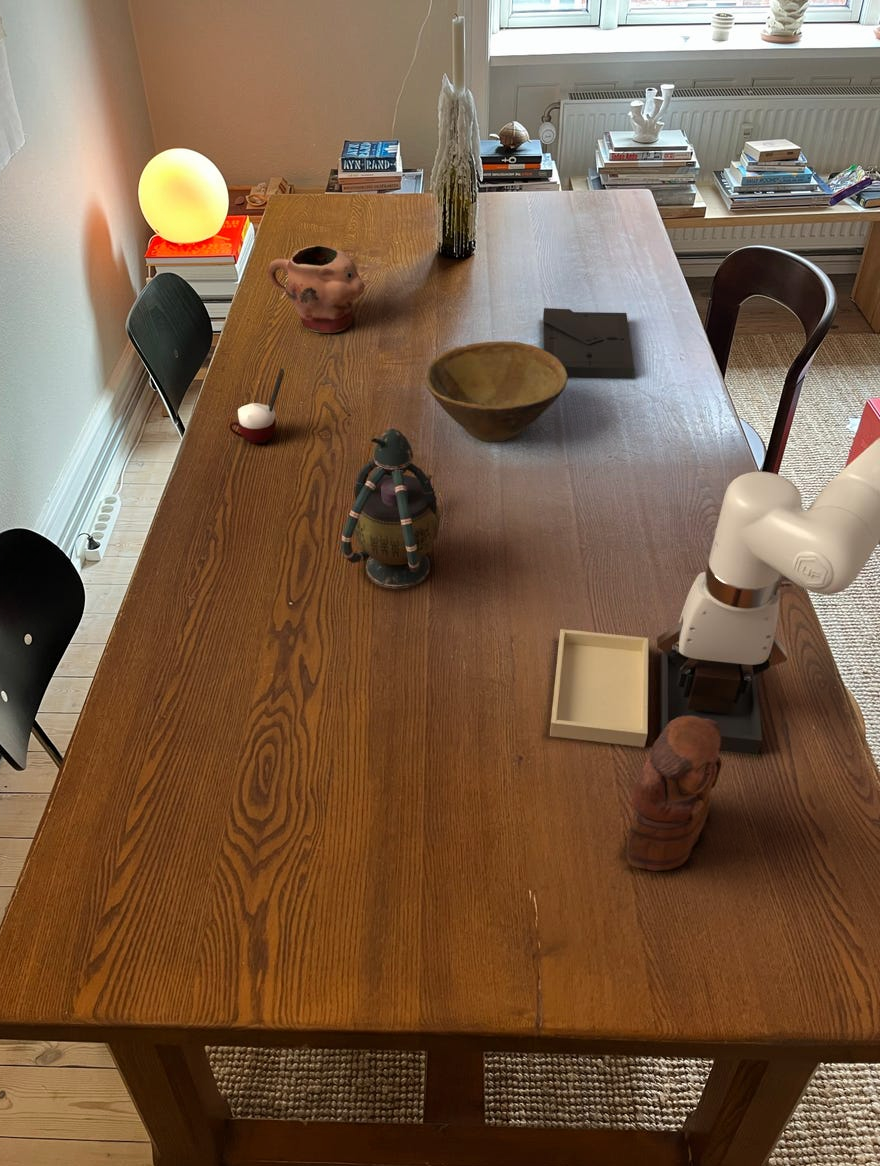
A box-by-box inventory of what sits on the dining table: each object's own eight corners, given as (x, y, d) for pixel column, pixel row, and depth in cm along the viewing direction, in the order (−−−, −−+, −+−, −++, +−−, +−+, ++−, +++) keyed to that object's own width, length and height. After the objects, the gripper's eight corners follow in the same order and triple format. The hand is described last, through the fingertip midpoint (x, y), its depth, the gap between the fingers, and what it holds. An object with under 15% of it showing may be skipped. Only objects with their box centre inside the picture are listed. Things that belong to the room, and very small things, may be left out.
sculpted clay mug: (260, 332, 195) (250, 262, 185) (283, 303, 203) (275, 235, 194) (358, 343, 191) (353, 272, 181) (377, 314, 199) (373, 244, 189)
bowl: (456, 381, 180) (456, 329, 173) (579, 407, 172) (584, 354, 165) (404, 444, 166) (403, 391, 159) (535, 475, 158) (540, 421, 151)
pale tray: (645, 651, 130) (648, 637, 128) (644, 747, 119) (647, 733, 117) (558, 642, 132) (560, 628, 130) (549, 736, 120) (551, 722, 119)
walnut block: (728, 684, 124) (738, 649, 120) (730, 714, 120) (740, 680, 116) (686, 679, 124) (695, 645, 120) (687, 709, 121) (696, 675, 117)
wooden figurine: (669, 890, 105) (699, 785, 92) (614, 860, 108) (636, 755, 95) (715, 814, 112) (749, 706, 99) (662, 788, 114) (689, 680, 102)
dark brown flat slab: (542, 321, 194) (543, 376, 180) (543, 307, 192) (544, 362, 178) (625, 322, 193) (632, 378, 178) (626, 309, 191) (634, 364, 176)
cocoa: (229, 446, 167) (218, 382, 159) (241, 425, 171) (230, 362, 163) (284, 451, 165) (275, 386, 157) (294, 430, 170) (286, 366, 161)
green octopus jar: (339, 602, 139) (325, 461, 122) (387, 496, 156) (381, 360, 139) (423, 615, 136) (420, 474, 120) (463, 506, 153) (466, 370, 137)
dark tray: (749, 667, 127) (754, 654, 126) (757, 754, 117) (762, 740, 116) (659, 658, 129) (662, 644, 127) (660, 742, 119) (663, 729, 117)
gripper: (818, 564, 110) (779, 677, 123) (660, 550, 113) (638, 662, 126) (826, 610, 105) (784, 723, 118) (660, 594, 108) (637, 706, 120)
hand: (709, 690), depth 122 cm, fingers closed on walnut block, 5 cm apart
